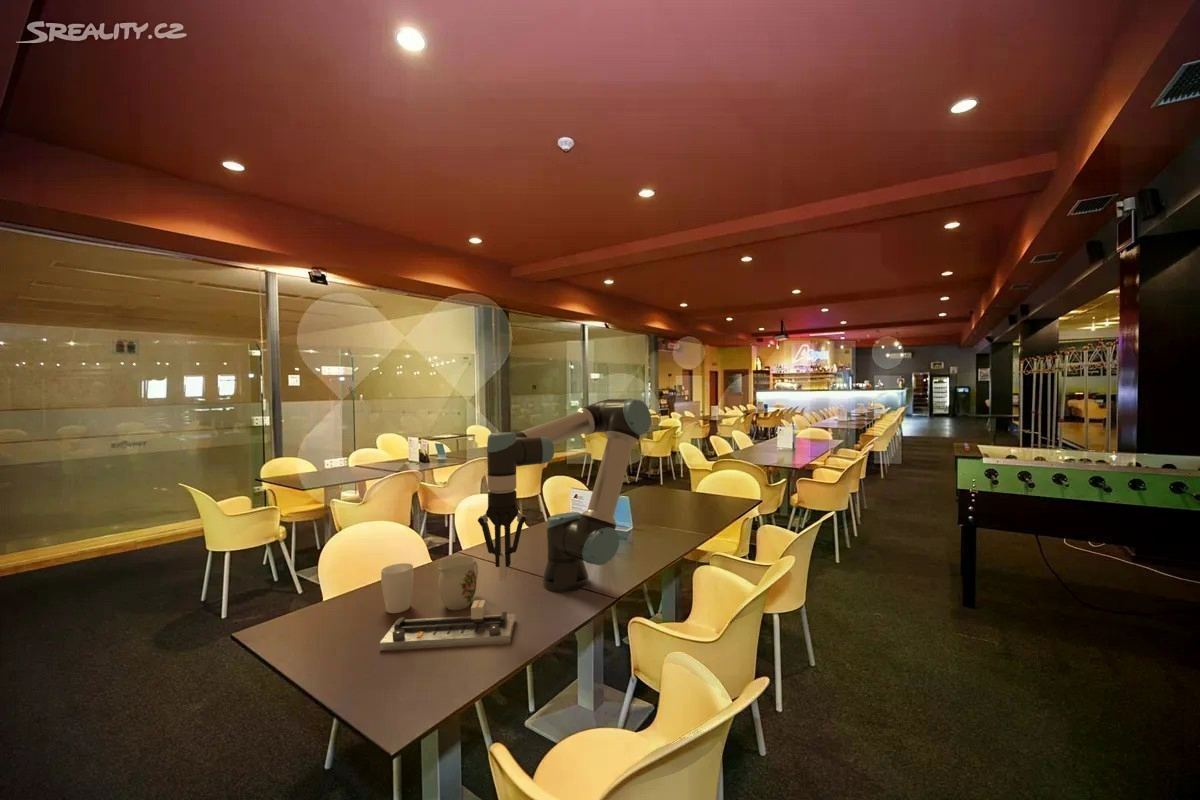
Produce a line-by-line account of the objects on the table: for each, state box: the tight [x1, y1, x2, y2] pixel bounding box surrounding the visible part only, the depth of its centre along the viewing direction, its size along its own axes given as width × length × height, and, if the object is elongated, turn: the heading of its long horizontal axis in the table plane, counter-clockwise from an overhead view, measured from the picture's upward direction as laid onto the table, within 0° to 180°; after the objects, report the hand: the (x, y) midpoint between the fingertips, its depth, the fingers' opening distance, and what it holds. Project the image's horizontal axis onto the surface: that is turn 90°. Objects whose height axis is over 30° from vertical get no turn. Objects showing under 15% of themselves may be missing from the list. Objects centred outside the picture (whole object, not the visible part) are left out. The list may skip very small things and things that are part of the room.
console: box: [379, 611, 516, 652], centre depth 123 cm, size 32×12×4 cm, turn 94°
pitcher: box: [437, 555, 479, 611], centre depth 142 cm, size 11×18×14 cm, turn 161°
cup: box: [380, 562, 415, 614], centre depth 140 cm, size 9×9×12 cm
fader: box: [470, 599, 487, 623], centre depth 125 cm, size 3×4×5 cm, turn 4°
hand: (503, 578), depth 125 cm, fingers closed
